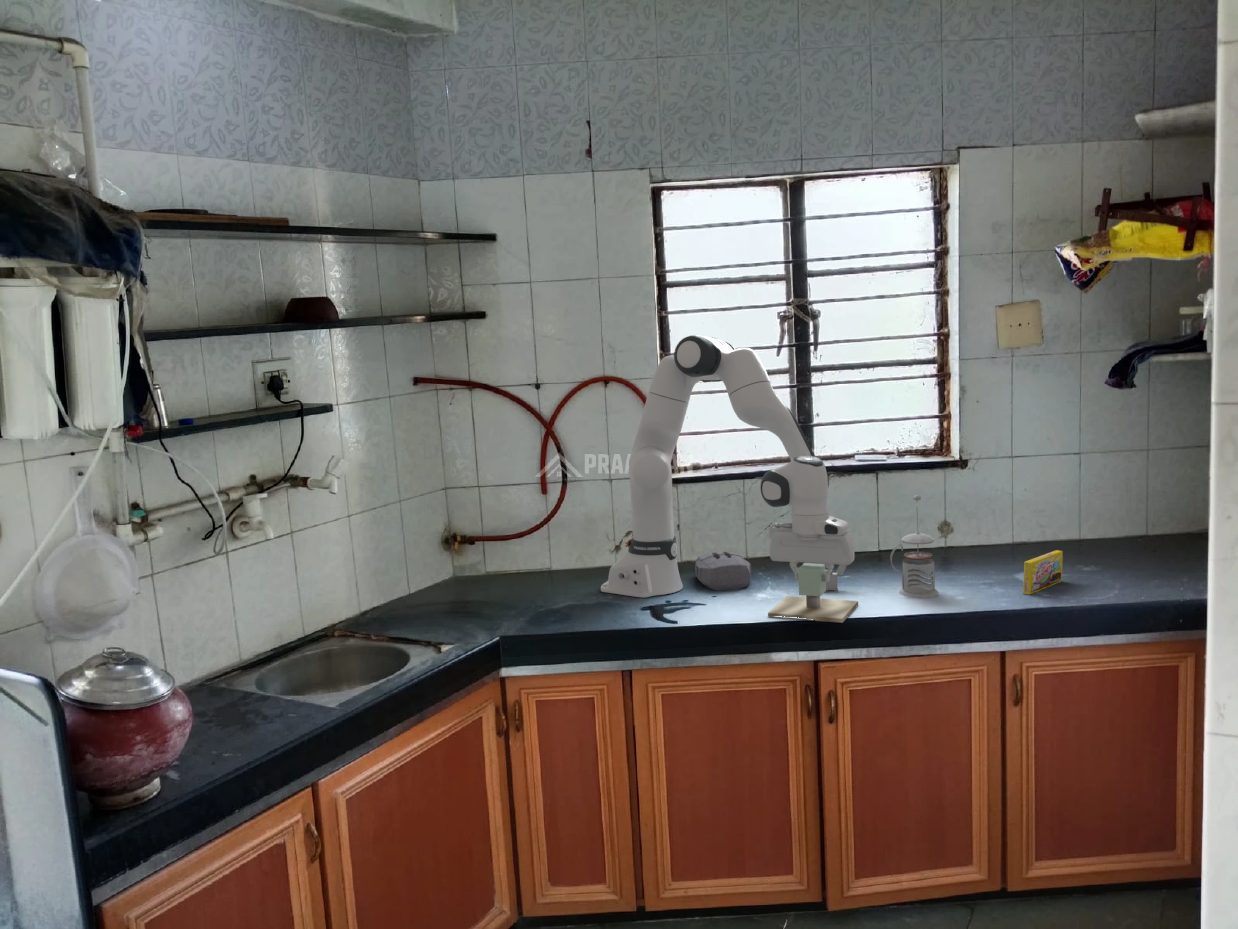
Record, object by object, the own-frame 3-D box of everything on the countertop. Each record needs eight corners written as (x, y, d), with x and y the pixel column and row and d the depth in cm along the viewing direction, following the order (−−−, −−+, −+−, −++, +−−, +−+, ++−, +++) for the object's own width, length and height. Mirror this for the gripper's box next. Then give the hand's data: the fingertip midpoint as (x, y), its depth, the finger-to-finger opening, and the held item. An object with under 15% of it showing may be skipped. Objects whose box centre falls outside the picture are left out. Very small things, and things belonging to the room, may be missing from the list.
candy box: (1030, 596, 241) (1030, 562, 240) (1022, 594, 243) (1022, 561, 242) (1063, 582, 252) (1063, 550, 250) (1055, 580, 253) (1055, 549, 252)
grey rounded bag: (758, 588, 264) (739, 570, 284) (757, 557, 263) (738, 542, 282) (702, 593, 262) (687, 575, 282) (701, 562, 261) (686, 546, 281)
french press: (941, 597, 244) (939, 498, 241) (892, 598, 246) (890, 499, 243) (937, 587, 253) (935, 491, 250) (890, 587, 256) (887, 492, 252)
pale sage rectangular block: (799, 594, 238) (798, 568, 237) (805, 589, 243) (804, 563, 242) (820, 596, 236) (819, 569, 235) (826, 590, 240) (825, 564, 239)
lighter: (821, 591, 257) (820, 561, 255) (820, 589, 258) (819, 559, 257) (849, 589, 256) (848, 559, 255) (848, 588, 258) (847, 558, 257)
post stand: (768, 616, 237) (767, 592, 236) (786, 599, 250) (786, 576, 250) (842, 622, 229) (841, 597, 228) (858, 605, 242) (857, 581, 241)
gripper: (764, 525, 239) (766, 580, 241) (848, 528, 229) (850, 586, 231) (772, 520, 244) (774, 574, 246) (855, 523, 235) (857, 579, 237)
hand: (812, 580), depth 239 cm, fingers closed on pale sage rectangular block, 5 cm apart
